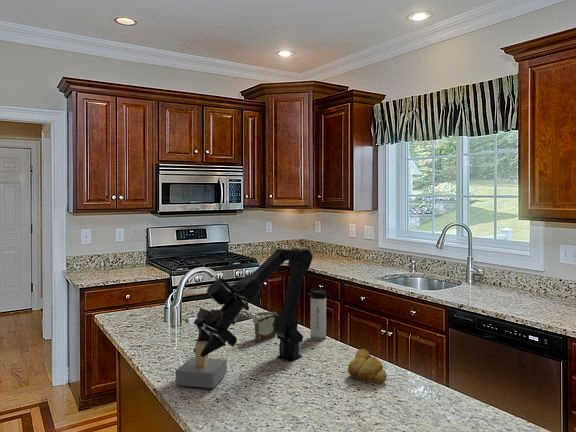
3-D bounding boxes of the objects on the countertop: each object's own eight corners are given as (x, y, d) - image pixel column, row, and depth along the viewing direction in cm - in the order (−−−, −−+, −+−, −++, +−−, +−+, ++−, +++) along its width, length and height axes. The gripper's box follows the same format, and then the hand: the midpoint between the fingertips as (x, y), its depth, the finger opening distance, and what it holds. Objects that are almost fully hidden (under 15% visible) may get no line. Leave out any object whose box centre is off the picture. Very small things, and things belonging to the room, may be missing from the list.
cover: (226, 372, 151) (226, 338, 151) (213, 388, 140) (213, 350, 139) (191, 370, 154) (191, 335, 153) (175, 384, 142) (175, 347, 141)
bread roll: (392, 381, 147) (393, 356, 147) (372, 389, 141) (372, 363, 141) (362, 369, 157) (362, 345, 157) (341, 376, 151) (341, 351, 151)
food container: (266, 333, 197) (266, 310, 196) (277, 336, 193) (277, 312, 192) (246, 340, 187) (245, 316, 186) (257, 344, 183) (257, 318, 183)
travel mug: (317, 334, 196) (317, 286, 194) (329, 337, 191) (329, 289, 190) (306, 337, 191) (306, 289, 190) (318, 341, 186) (319, 291, 185)
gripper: (198, 293, 155) (167, 332, 149) (227, 303, 141) (195, 347, 134) (219, 313, 160) (190, 351, 154) (250, 325, 146) (219, 368, 140)
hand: (197, 354), depth 145 cm, fingers closed on cover, 4 cm apart
